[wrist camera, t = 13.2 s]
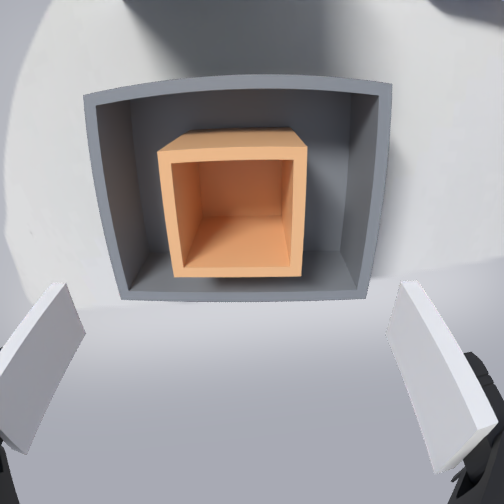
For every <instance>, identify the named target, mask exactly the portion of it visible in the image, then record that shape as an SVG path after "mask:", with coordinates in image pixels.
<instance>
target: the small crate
mask: <svg viewBox="0 0 504 504" xmlns="http://www.w3.org/2000/svg"><path fill="white" fill-rule="evenodd" d="M157 154H158V164H159V173H160V182H161V191H162V199H163V207H164V214H165V222H166V229H167V236H168V242H169V249H170V255H171V261H172V268H173V274H174V277H295V276H301V270H302V255H303V239H304V221H305V201H306V176H307V146H306V145H305V144H304V142H303V141H302V140H301V139H300V138H299V137H298V136H297V134H296V133H295V132H294V131H293V130H292V129H291V128H290V127H246V128H217V129H199V130H189V131H187V132H186V133H184V134H183V135H181V136H180V137H178V138H177V139H175V140H174V141H172V142H171V143H169V144H168V145H166V146H165V147H163V148H162V149H160V150H159V151H157Z"/></svg>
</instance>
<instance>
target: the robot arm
mask: <svg viewBox="0 0 504 504" xmlns="http://www.w3.org/2000/svg"><path fill="white" fill-rule="evenodd" d="M85 334H86V333H85V330H84V328H83V326H82V323H81V321H80V318H79V316H78V313H77V311H76V308H75V306H74V303H73V301H72V298H71V295H70V293H69V290H68V287H67V284H66V283H52V284H51V285H50V286H49V287H48V288H47V290H46V291H45V292H44V293H43V295H42V296H41V297H40V298H39V300H38V301H37V302H36V303H35V305H34V306H33V307H32V308H31V310H30V311H29V313H28V314H27V315H26V316H25V318H24V319H23V320H22V322H21V323H20V324H19V326H18V327H17V328H16V330H15V331H14V332H13V334H12V335H11V337H10V338H9V339H8V341H7V342H6V344H5V345H4V347H1V348H0V504H19V500H18V497H17V494H16V492H15V488H14V484H13V481H12V477H11V474H10V469H9V465H8V462H7V457H6V453H5V450H4V448H3V447H2V446H1V444H2V442H3V441H4V442H6V443H7V445H8V446H10V447H11V448H12V449H14V450H16V451H18V452H20V453H23V454H25V455H27V453H28V451H29V448H30V446H31V444H32V441H33V439H34V437H35V434H36V432H37V429H38V427H39V425H40V423H41V421H42V418H43V416H44V414H45V412H46V410H47V408H48V406H49V403H50V401H51V399H52V397H53V395H54V393H55V391H56V389H57V387H58V385H59V383H60V381H61V379H62V377H63V375H64V373H65V371H66V369H67V367H68V366H69V363H70V361H71V360H72V358H73V356H74V354H75V352H76V351H77V348H78V347H79V345H80V343H81V341H82V339H83V338H84V336H85ZM385 336H386V338H387V341H388V343H389V345H390V348H391V350H392V353H393V355H394V358H395V360H396V363H397V365H398V368H399V371H400V373H401V376H402V378H403V381H404V384H405V386H406V389H407V392H408V395H409V397H410V400H411V403H412V406H413V409H414V411H415V414H416V417H417V420H418V423H419V426H420V429H421V432H422V435H423V438H424V441H425V445H426V448H427V451H428V454H429V457H430V461H431V464H432V468H433V471H434V474H437V473H441V472H443V471H446V470H450V469H453V468H455V467H456V466H457V465H458V464H459V463H460V462H461V461H462V460H463V461H464V464H465V467H464V468H463V469H462V470H461V471H460V472H458V473H457V474H456V475H455V476H454V477H453V479H452V480H451V482H454V481H455V480H457V479H458V478H459V479H458V482H457V484H456V486H455V489H454V491H453V493H452V495H451V497H450V500H449V502H448V504H504V401H503V399H502V397H501V395H500V393H499V391H498V389H497V387H496V386H495V385H494V384H493V383H494V382H493V380H492V378H491V376H489V375H488V371H487V369H486V367H485V366H484V364H483V362H482V361H481V360H480V359H479V358H478V357H477V356H476V355H474V354H473V353H472V352H468V353H463V352H462V350H461V349H460V347H459V345H458V343H457V342H456V340H455V338H454V337H453V335H452V333H451V332H450V330H449V328H448V327H447V325H446V323H445V322H444V320H443V319H442V317H441V315H440V314H439V312H438V311H437V309H436V308H435V306H434V305H433V303H432V301H431V300H430V298H429V297H428V295H427V294H426V292H425V291H424V289H423V288H422V286H421V285H420V283H419V282H418V280H417V281H416V280H415V281H401V282H400V285H399V289H398V293H397V297H396V300H395V304H394V308H393V311H392V315H391V318H390V322H389V325H388V328H387V331H386V335H385Z"/></svg>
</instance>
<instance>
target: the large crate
mask: <svg viewBox="0 0 504 504" xmlns="http://www.w3.org/2000/svg"><path fill="white" fill-rule="evenodd" d="M83 99H84V111H85V121H86V130H87V138H88V146H89V153H90V160H91V167H92V173H93V179H94V185H95V191H96V196H97V202H98V207H99V212H100V217H101V221H102V226H103V231H104V235H105V239H106V244H107V248H108V252H109V256H110V260H111V264H112V268H113V272H114V275H115V279H116V283H117V286H118V290H119V293H120V297H121V300H144V301H186V302H273V301H275V302H277V301H319V300H345V299H346V300H347V299H365V298H366V295H367V291H368V286H369V281H370V276H371V271H372V266H373V261H374V255H375V249H376V244H377V238H378V232H379V225H380V219H381V212H382V205H383V197H384V189H385V181H386V172H387V162H388V151H389V139H390V124H391V106H392V84H390V83H383V82H376V81H368V80H360V79H351V78H340V77H328V76H313V75H288V74H247V75H222V76H206V77H194V78H183V79H174V80H166V81H158V82H151V83H144V84H137V85H131V86H126V87H120V88H115V89H110V90H105V91H100V92H95V93H91V94H86V95H83ZM246 127H290V128H291V129H292V130H293V131H294V132H295V133H296V134H297V136H298V137H299V138H300V139H301V140H302V141H303V142H304V144H305V145H306V146H307V176H306V201H305V221H304V239H303V255H302V270H301V276H295V277H174V274H173V268H172V261H171V255H170V249H169V242H168V236H167V229H166V222H165V214H164V207H163V199H162V191H161V182H160V173H159V164H158V154H157V151H159V150H160V149H162V148H163V147H165V146H166V145H168V144H169V143H171V142H172V141H174V140H175V139H177V138H178V137H180V136H181V135H183V134H184V133H186V132H187V131H189V130H199V129H217V128H246Z"/></svg>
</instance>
